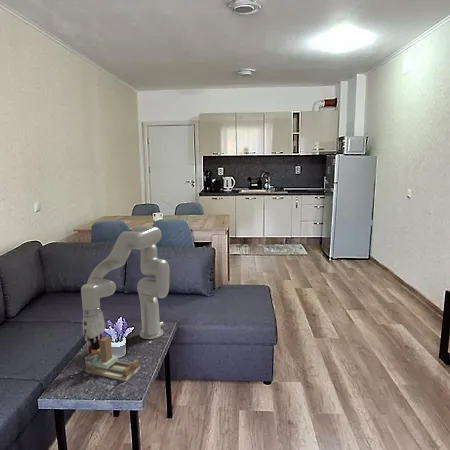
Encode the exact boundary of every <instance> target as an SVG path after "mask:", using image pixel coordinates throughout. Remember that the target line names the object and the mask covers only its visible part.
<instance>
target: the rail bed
mask: <svg viewBox="0 0 450 450" xmlns="http://www.w3.org/2000/svg"><path fill="white" fill-rule="evenodd" d="M99 348H100V347H99ZM100 359H101V352H100V353H98V354H92V353H90V354H89V355H88V354H87V355H86V356H84V364H85V369H84V371H85V373H86V374H91V375H97V376H101V377H106V378H110V379H114V380H118V381H119V380H120V381H124V382H126V381H128V380H129V379H130V378H131V377H133V376H134V375H135V374H136V373H137V372H139V370H140V369H141V365H140V364H141V363H140V359H135V360H133V361H132V362H131V363H130V362H124V361H119V360H118V361H117V362H115V363H114V364H113V365H112V366H110V367H109V368H108V369H104V368H100V367H96V362H97V361H99V360H100Z"/></svg>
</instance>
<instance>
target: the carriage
mask: <svg viewBox="0 0 450 450" xmlns="http://www.w3.org/2000/svg"><path fill="white" fill-rule="evenodd" d="M99 341H100V352H101V359H100V360H99V361H97V362H96V367H100V368H104V369H108V368H109V367H110V366H112V365H113V364H114V363H115V362H117V361H119V356H118V355H113V349H112V348H113V347H112V338H111V337H110V336H103V338H102V339H101V340H99Z"/></svg>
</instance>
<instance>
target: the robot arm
mask: <svg viewBox="0 0 450 450" xmlns="http://www.w3.org/2000/svg"><path fill="white" fill-rule="evenodd" d="M160 240H162V231H161V229H160V228H159V227H157V226H149V225H148V226H147V225H134V226H133V227H132V228H131V230H130V231H129V230H128V231H127V230H126V231H122V232H121V233H120V234H119V236H118V238H117V240H116V242H115V244H114V245H113V247H112V249H111V251H110V253H109V255H108V256H107V257H106V258H105V259H103V260H101V262H100V263H98V264H97V265H96V266H95V267H94V269H93V270H92V271H91V273H90V275H89V277H88V279H87V282H86V284H85V283H84V284H83V285H82V286H81V288H80V296H81V303H82V315H83V316H82V336H83V338H84V341H85V342H86V343H87V342H88V341H90V342H91V348H92V350H98V349H99V341H98V340H99V339H100V335H101V334H102V335H103V333H104V332H105V331H106V324H105V317H104V313H103V311H102V310H101V299H102V298H106V297H110V296H112V295H114V293H115V292H116V291H117V285H116V282H114V281H112V280H110V279H106V278H104V277H105V276H106V275H107V274H108V273H109V272H111V271H113V270H115V269H118V268H121V267H123V266H125V264H126V262H127V261H128V259H129V256H130V254H131V252H132V250H139V251H140V272H141V274H142V275H144V276H149V277H143V278H142V277H141V278H140V280H138V282H137V285H136V288H137V289H136V290H137V293H138V297H139V302H140V303H139V305H140V316H141V318H140V321H141V331H140V332H139V337H140V338H142V339H144V340H153V339H158V338H160V337H161V336H163V334H164V330H163V329H162V326H164V321H160V309H159V307H160V304H159V301H158V299H165V298H166V297H167V296H168V294H169V290H170V277H171V276H170V274H171V273H170V265H169V262H168V261H167V260H166V259H162V258H158V248H157V245H156V244H158V243H159V242H160ZM153 277H155V278H153Z"/></svg>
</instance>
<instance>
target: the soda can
mask: <svg viewBox="0 0 450 450" xmlns="http://www.w3.org/2000/svg"><path fill="white" fill-rule="evenodd" d="M102 338H104V336H103V333H102V334H101V335H100V339H99V340H101V339H102ZM99 340H98V341H99ZM86 344H87V355H89V354H90V353H92V351H91V349H92V348H91V342H90V341H88V342H87V341H86ZM99 347H100V341H99Z"/></svg>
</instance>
